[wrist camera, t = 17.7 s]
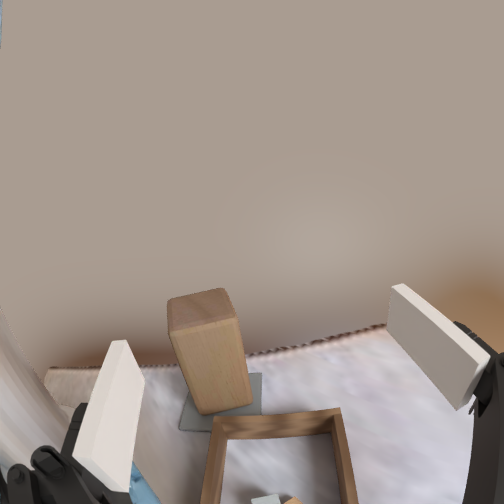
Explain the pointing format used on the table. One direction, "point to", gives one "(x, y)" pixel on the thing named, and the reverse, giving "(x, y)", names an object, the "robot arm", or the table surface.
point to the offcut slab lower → (293, 501)
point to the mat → (204, 423)
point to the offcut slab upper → (267, 500)
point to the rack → (277, 429)
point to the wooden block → (210, 350)
